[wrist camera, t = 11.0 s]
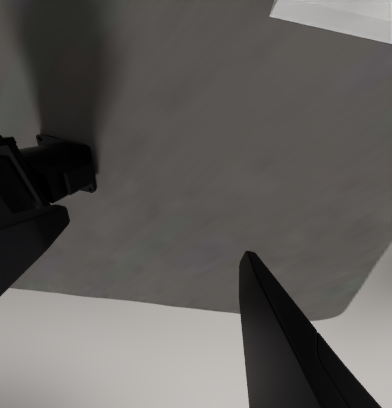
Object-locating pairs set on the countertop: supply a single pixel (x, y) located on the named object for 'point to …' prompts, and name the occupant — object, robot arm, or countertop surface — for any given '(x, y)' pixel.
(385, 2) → the square tray
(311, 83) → the countertop surface
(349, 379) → the robot arm
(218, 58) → the countertop surface
